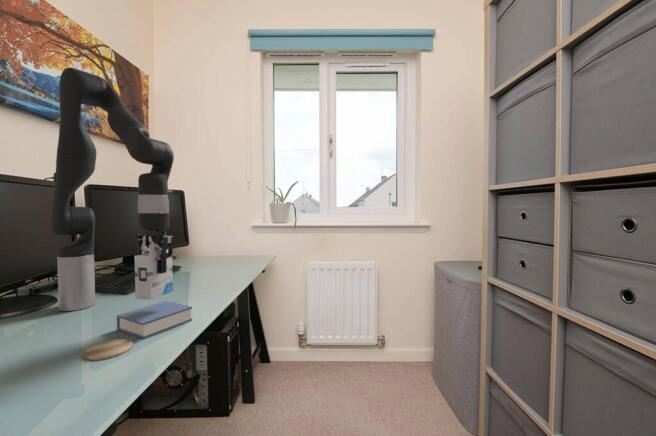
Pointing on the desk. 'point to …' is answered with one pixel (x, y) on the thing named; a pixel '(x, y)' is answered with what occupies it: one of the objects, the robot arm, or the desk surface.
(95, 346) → the cork coaster
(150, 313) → the navy book
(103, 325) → the desk surface
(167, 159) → the robot arm
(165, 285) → the ink box
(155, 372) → the desk surface
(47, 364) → the desk surface
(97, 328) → the desk surface
